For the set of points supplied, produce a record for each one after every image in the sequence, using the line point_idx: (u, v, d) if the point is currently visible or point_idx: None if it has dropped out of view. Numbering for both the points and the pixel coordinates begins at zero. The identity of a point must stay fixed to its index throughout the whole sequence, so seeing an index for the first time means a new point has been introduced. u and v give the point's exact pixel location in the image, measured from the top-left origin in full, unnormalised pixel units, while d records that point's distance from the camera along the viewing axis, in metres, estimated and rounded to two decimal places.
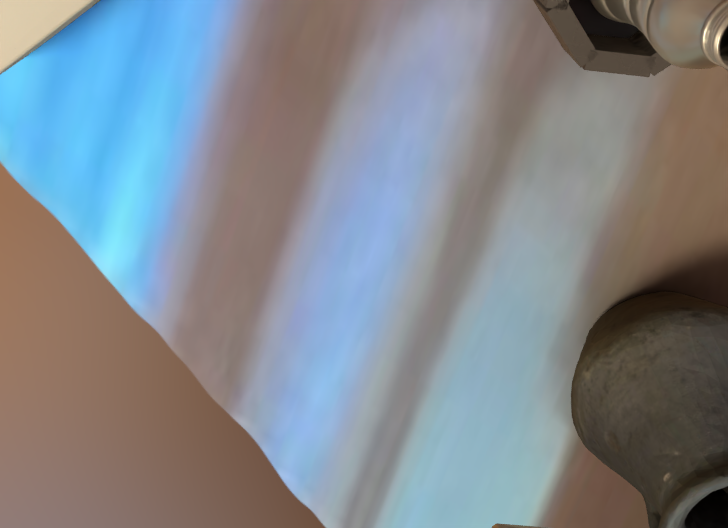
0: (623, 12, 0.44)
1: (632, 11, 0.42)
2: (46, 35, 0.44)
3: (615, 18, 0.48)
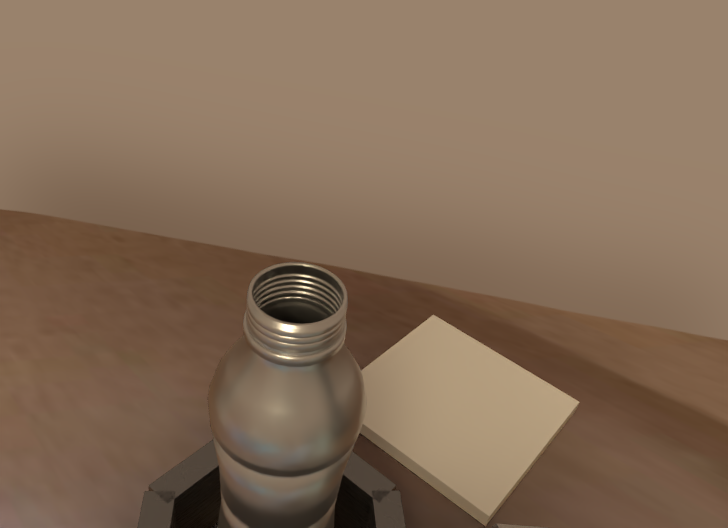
0: None
1: (258, 520, 0.27)
2: None
3: None
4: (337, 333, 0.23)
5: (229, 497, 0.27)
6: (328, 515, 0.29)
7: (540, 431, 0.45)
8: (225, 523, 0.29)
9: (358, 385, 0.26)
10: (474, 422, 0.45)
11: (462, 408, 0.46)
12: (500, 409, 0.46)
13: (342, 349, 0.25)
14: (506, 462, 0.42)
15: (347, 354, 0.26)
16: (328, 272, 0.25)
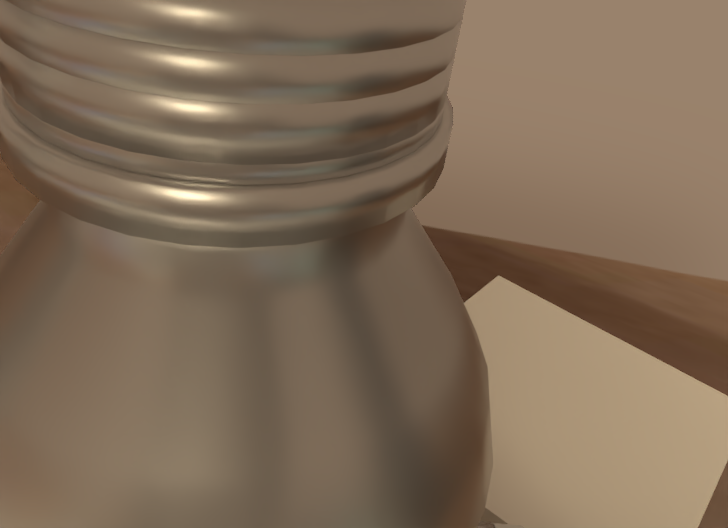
0: None
1: None
2: None
3: None
4: (430, 92, 0.05)
5: None
6: None
7: (703, 458, 0.27)
8: None
9: (477, 360, 0.07)
10: (590, 443, 0.26)
11: (566, 420, 0.27)
12: (629, 421, 0.28)
13: (421, 226, 0.07)
14: (660, 517, 0.24)
15: (435, 250, 0.07)
16: None
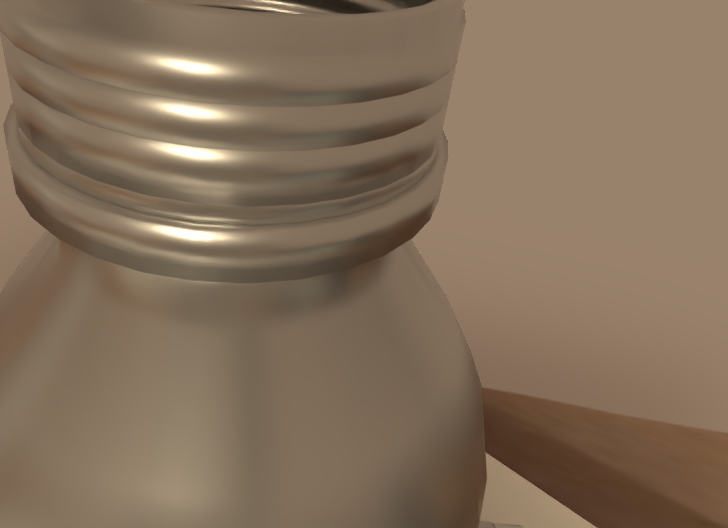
0: None
1: None
2: None
3: None
4: (426, 132, 0.05)
5: None
6: None
7: None
8: None
9: (471, 379, 0.07)
10: None
11: None
12: None
13: (416, 251, 0.07)
14: None
15: (430, 273, 0.07)
16: None
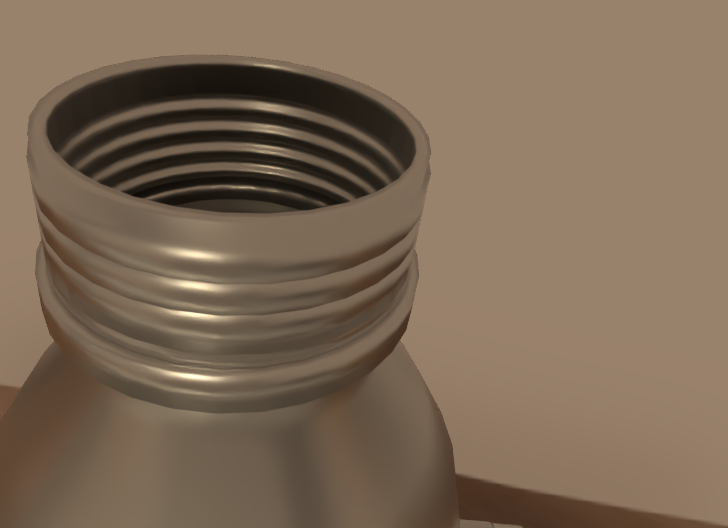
0: None
1: None
2: None
3: None
4: (402, 269, 0.06)
5: None
6: None
7: None
8: None
9: (443, 445, 0.08)
10: None
11: None
12: None
13: None
14: None
15: (404, 352, 0.08)
16: (341, 79, 0.07)
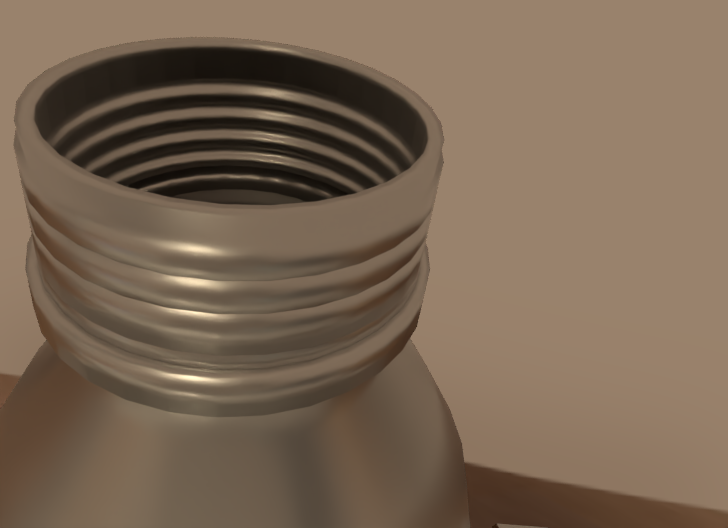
0: None
1: None
2: None
3: None
4: (413, 263, 0.06)
5: None
6: None
7: None
8: None
9: (453, 444, 0.08)
10: None
11: None
12: None
13: None
14: None
15: (412, 348, 0.08)
16: (347, 63, 0.07)
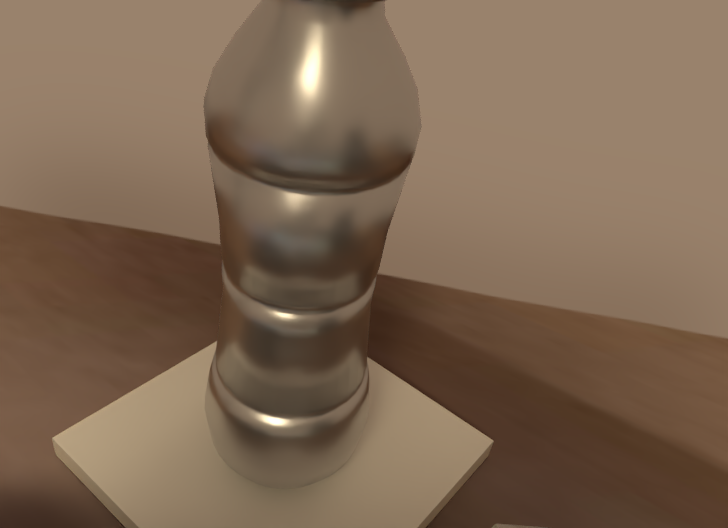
0: (298, 346, 0.21)
1: (280, 285, 0.20)
2: None
3: (331, 417, 0.23)
4: None
5: (238, 262, 0.20)
6: (368, 296, 0.22)
7: (418, 495, 0.26)
8: (231, 316, 0.22)
9: (412, 79, 0.19)
10: None
11: None
12: (356, 456, 0.28)
13: None
14: None
15: None
16: None
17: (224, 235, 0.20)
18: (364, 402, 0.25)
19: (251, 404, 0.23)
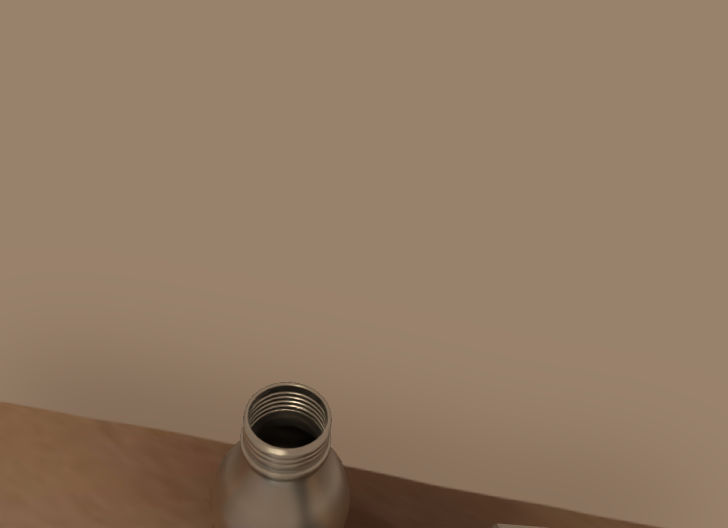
0: None
1: None
2: None
3: None
4: (324, 448, 0.27)
5: None
6: None
7: None
8: None
9: (342, 483, 0.29)
10: None
11: None
12: None
13: None
14: None
15: (331, 456, 0.29)
16: (312, 390, 0.28)
17: None
18: None
19: None
